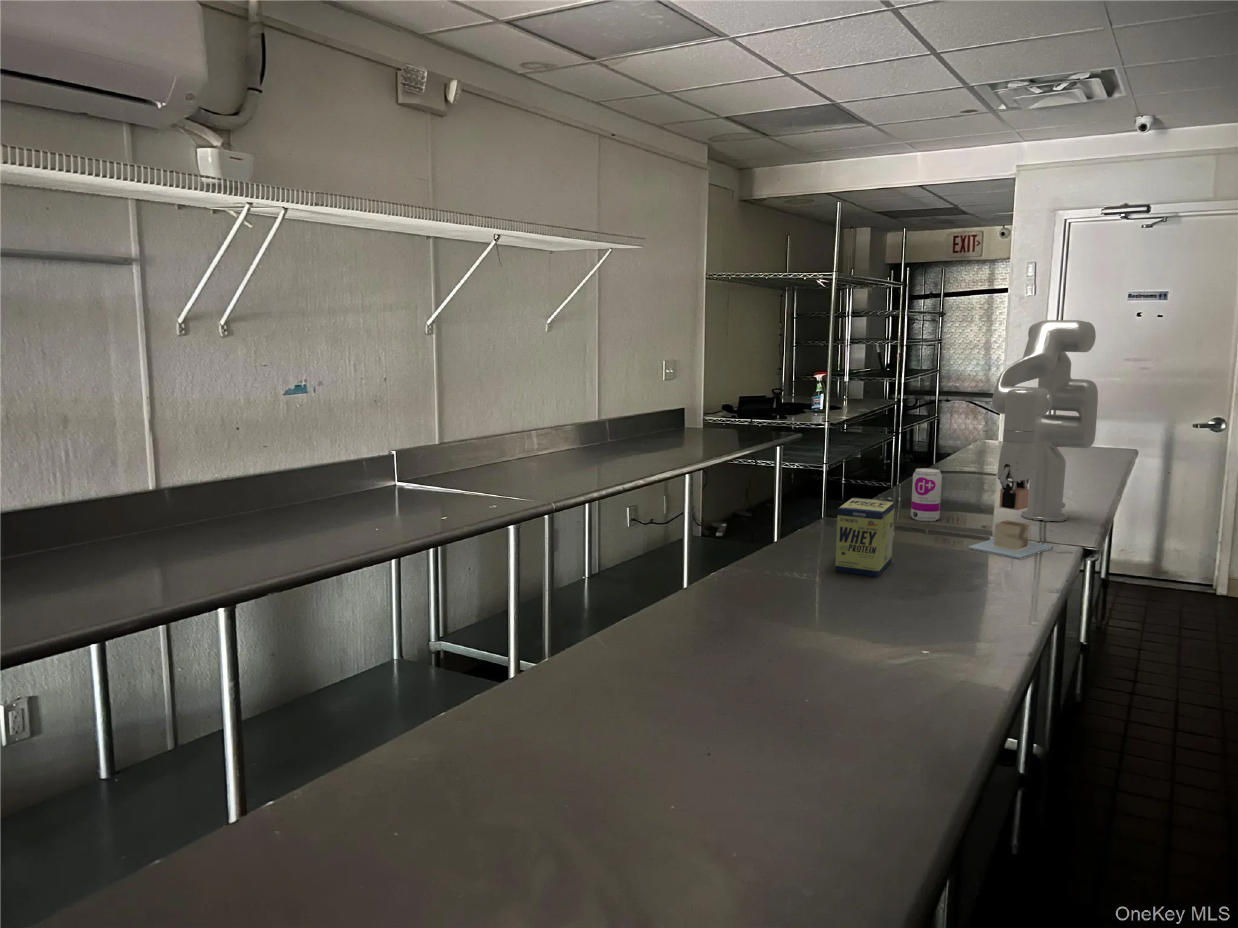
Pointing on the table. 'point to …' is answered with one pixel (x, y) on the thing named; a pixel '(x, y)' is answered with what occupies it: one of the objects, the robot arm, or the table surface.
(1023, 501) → the top block
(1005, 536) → the base block
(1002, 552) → the board
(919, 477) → the supplement can
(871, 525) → the protein box
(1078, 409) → the robot arm
